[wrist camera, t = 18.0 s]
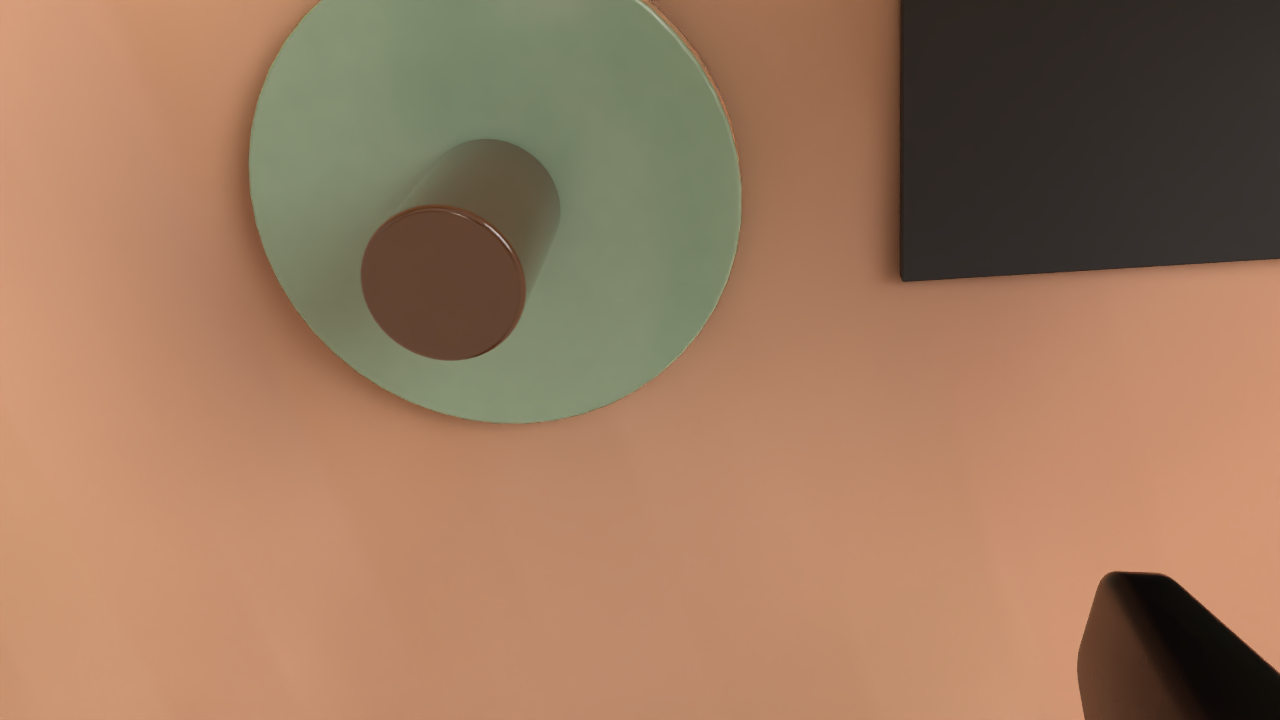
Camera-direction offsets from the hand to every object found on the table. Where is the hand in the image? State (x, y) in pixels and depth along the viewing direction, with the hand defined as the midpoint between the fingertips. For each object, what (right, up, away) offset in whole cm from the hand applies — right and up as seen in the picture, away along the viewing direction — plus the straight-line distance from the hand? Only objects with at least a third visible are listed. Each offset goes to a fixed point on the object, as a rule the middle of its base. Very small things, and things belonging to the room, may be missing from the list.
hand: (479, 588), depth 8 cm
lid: (-1, +5, +12) cm, 13 cm away
